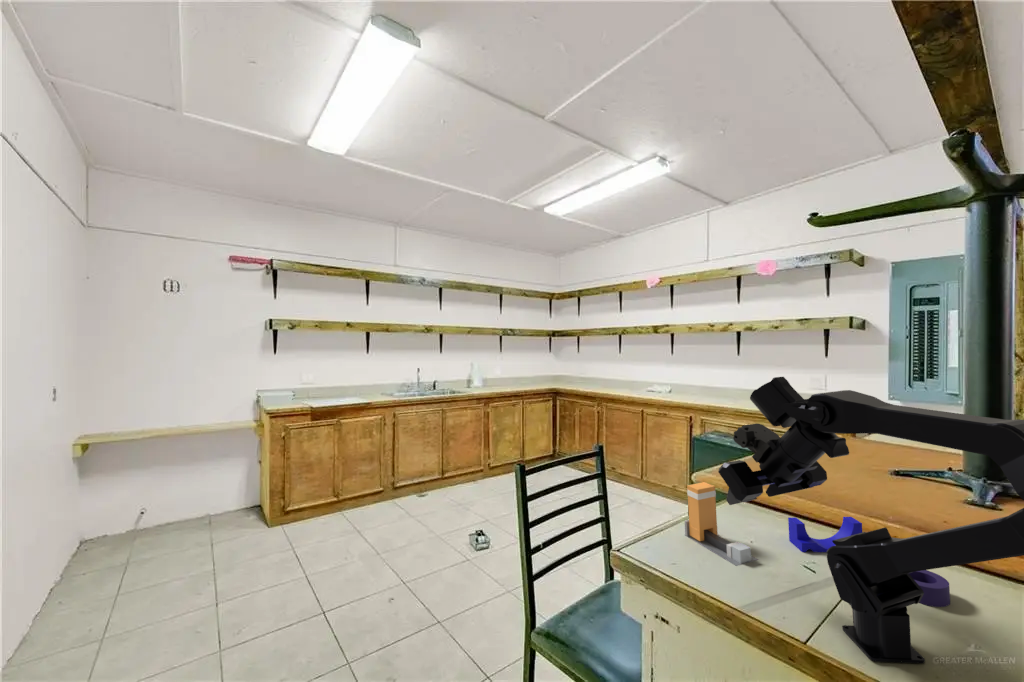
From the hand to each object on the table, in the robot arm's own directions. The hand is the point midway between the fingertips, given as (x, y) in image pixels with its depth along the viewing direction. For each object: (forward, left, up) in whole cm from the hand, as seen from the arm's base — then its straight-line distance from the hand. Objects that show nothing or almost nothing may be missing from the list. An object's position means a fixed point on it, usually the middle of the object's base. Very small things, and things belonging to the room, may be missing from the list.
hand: (748, 498), depth 80 cm
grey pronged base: (+7, +4, -13) cm, 15 cm away
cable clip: (+7, -17, -14) cm, 23 cm away
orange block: (+10, +6, -12) cm, 17 cm away
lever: (-5, -21, -14) cm, 26 cm away
